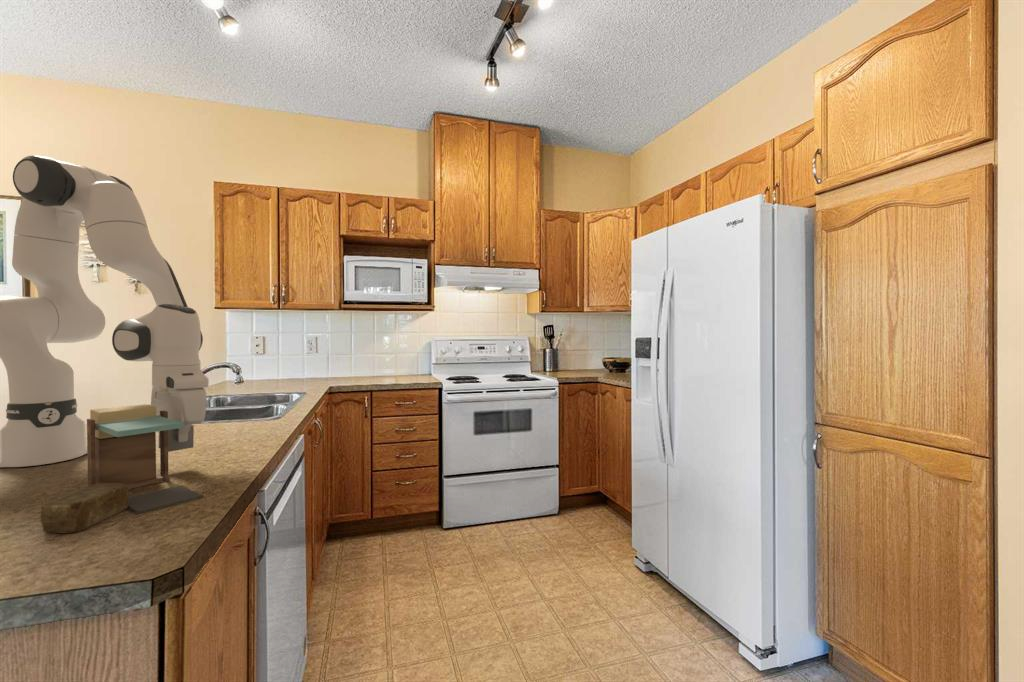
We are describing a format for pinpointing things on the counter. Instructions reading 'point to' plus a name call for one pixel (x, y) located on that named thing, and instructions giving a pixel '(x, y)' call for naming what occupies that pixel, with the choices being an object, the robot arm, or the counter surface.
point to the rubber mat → (161, 499)
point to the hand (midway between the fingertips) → (176, 439)
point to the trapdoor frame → (126, 458)
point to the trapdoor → (130, 421)
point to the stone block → (84, 507)
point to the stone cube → (177, 445)
